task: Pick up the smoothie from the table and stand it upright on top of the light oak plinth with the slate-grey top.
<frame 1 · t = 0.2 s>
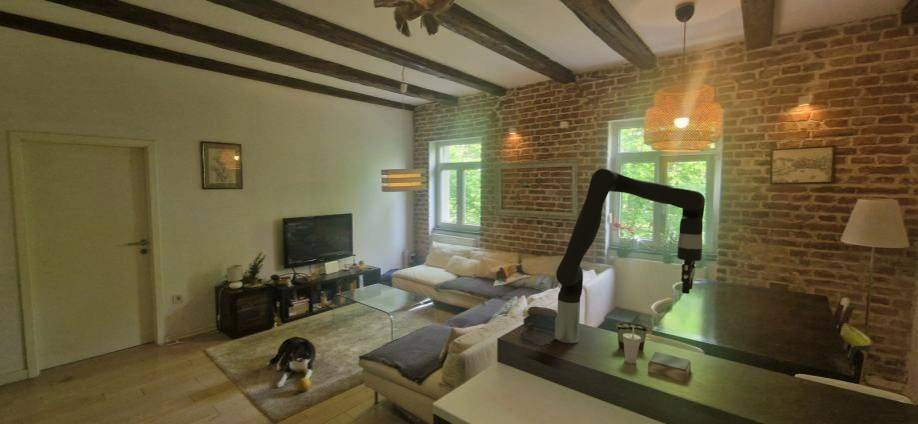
hand: (687, 291, 140), 29 cm above the table, tool pointing down, fingers open, 8 cm apart
smoothie: (630, 361, 147), on the table
food container: (628, 348, 160), on the table
oak plinth: (669, 371, 139), on the table
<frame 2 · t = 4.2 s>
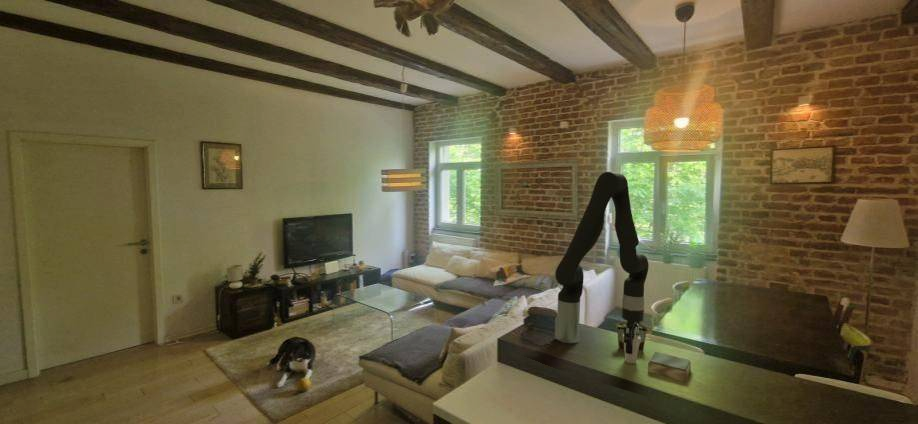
hand: (631, 350, 147), 4 cm above the table, tool pointing down, fingers closed on smoothie, 6 cm apart
smoothie: (630, 361, 147), on the table, touching gripper
everything else where it was.
when the fingers open (10 cm above the table, at t = 11.0 s): smoothie drops 1 cm, resting on oak plinth.
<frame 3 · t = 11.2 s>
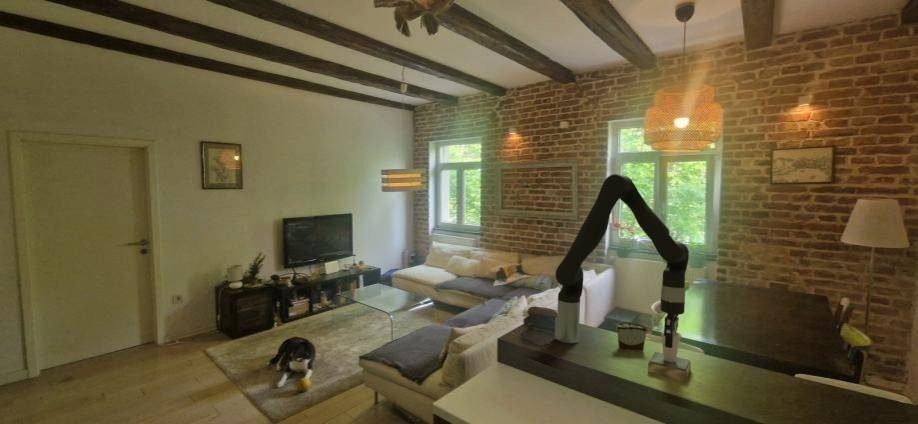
hand: (670, 343, 139), 10 cm above the table, tool pointing down, fingers open, 8 cm apart
smoothie: (669, 360, 139), point 4 cm above the table, touching oak plinth
everything else where it was.
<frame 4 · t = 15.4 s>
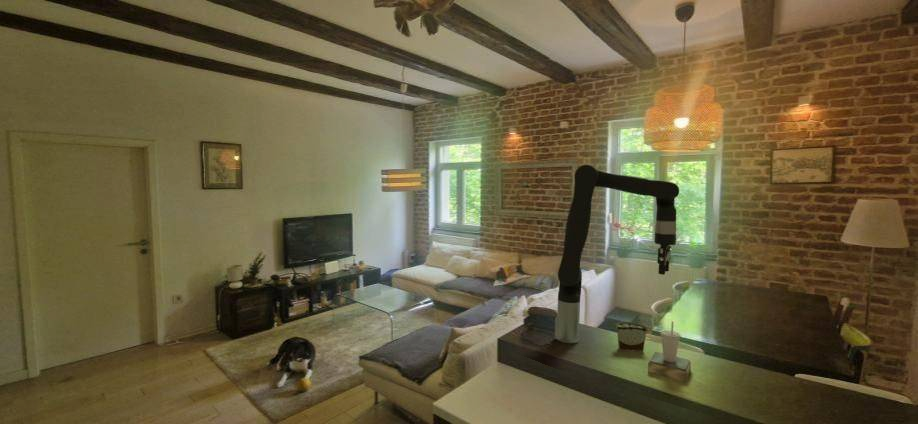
hand: (663, 272, 156), 32 cm above the table, tool pointing down, fingers open, 8 cm apart
nothing on the table moved.
at the end: smoothie inside the target area on the oak plinth (0.2 cm from its centre), point 3.8 cm above the oak plinth's base; smoothie tilted 0°; the gripper is holding nothing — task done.
